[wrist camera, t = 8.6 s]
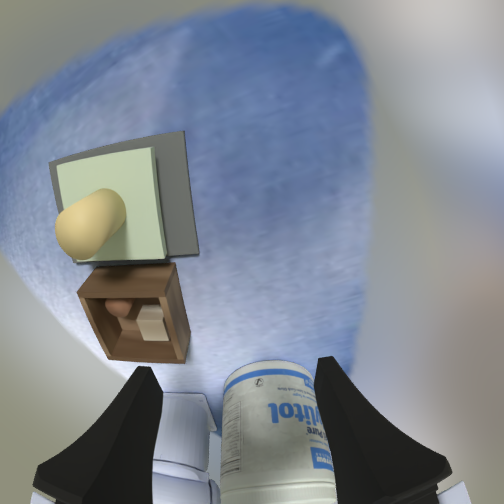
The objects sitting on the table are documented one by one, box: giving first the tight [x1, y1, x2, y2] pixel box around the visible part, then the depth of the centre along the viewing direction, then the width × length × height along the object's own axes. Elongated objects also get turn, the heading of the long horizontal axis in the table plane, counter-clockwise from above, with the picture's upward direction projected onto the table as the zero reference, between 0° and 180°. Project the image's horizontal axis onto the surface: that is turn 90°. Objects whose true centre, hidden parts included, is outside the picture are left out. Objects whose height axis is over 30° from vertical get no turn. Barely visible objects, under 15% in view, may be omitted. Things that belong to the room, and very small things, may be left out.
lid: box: [55, 147, 167, 261], centre depth 15 cm, size 7×7×6 cm
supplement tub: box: [220, 360, 336, 504], centre depth 20 cm, size 10×10×15 cm
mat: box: [49, 131, 199, 263], centre depth 17 cm, size 8×11×1 cm
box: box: [77, 262, 191, 364], centre depth 20 cm, size 7×7×4 cm
